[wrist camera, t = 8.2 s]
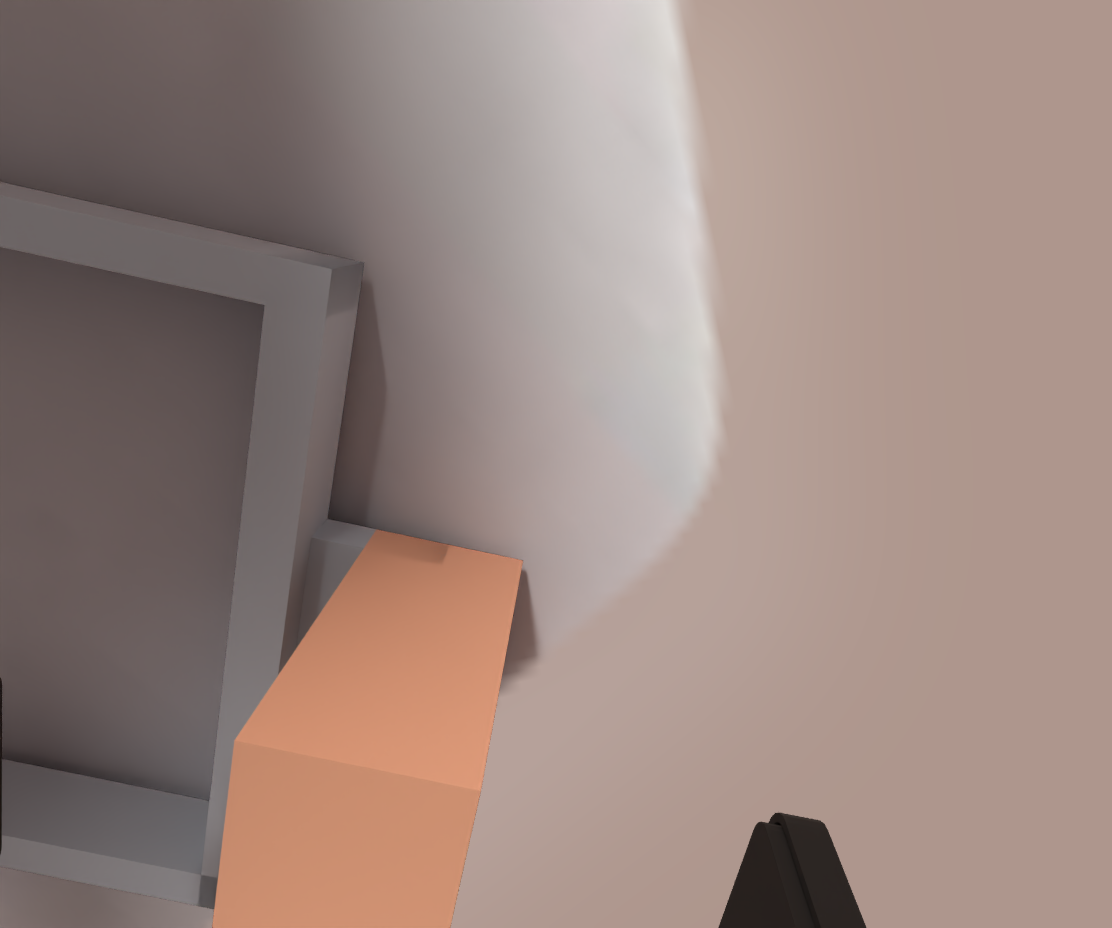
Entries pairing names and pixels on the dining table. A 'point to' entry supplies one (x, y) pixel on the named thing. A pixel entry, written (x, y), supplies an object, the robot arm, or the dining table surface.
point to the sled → (290, 641)
